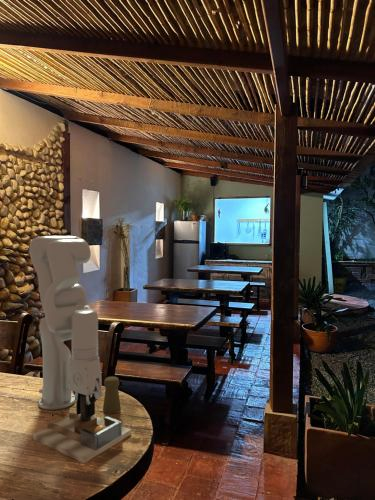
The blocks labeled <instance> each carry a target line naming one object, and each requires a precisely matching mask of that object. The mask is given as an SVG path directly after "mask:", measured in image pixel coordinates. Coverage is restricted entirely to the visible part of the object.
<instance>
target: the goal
mask: <svg viewBox="0 0 375 500" xmlns="http://www.w3.org/2000/svg"><path fill="white" fill-rule="evenodd" d="M103 418H104V425H105V426H106V427H107V428H105V429H103V430H101V431H99V432H98V433H96V434H95V433H93V432H90V431H88V430H86V429H81V430H80V436H81V445H84V446H86V447H88V448H90V449H93V450H95V451H96V450H98V449H99V448H101V447H103V446H104V445H106V444H108V443H109V442H111V441H113V440H114V439H116V438H118V437H119V436H121V435H122V421H121V420H118V419H116V418H113V417H110V416H105V417H103Z"/></svg>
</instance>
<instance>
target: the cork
mask: <svg viewBox="0 0 375 500" xmlns="http://www.w3.org/2000/svg"><path fill="white" fill-rule="evenodd" d="M103 386H104V388H105V389H104V390H105V391H104V398H103V399H104V400H103V408H102V412H103V413H105V414H116V413H118V412H120V411H121V410H122V407H121V401H120V395H119V393H120V392H119V386H120V379H119V378H118V377H117V376H108V377H106V378H105V379H104V381H103Z"/></svg>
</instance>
